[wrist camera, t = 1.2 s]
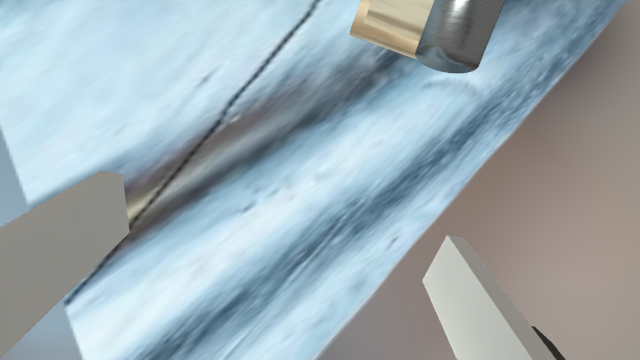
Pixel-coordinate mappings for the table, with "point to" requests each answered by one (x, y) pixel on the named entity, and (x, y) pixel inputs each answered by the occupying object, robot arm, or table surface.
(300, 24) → the table surface
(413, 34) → the bore stand
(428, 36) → the plug rod
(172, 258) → the table surface
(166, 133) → the table surface
